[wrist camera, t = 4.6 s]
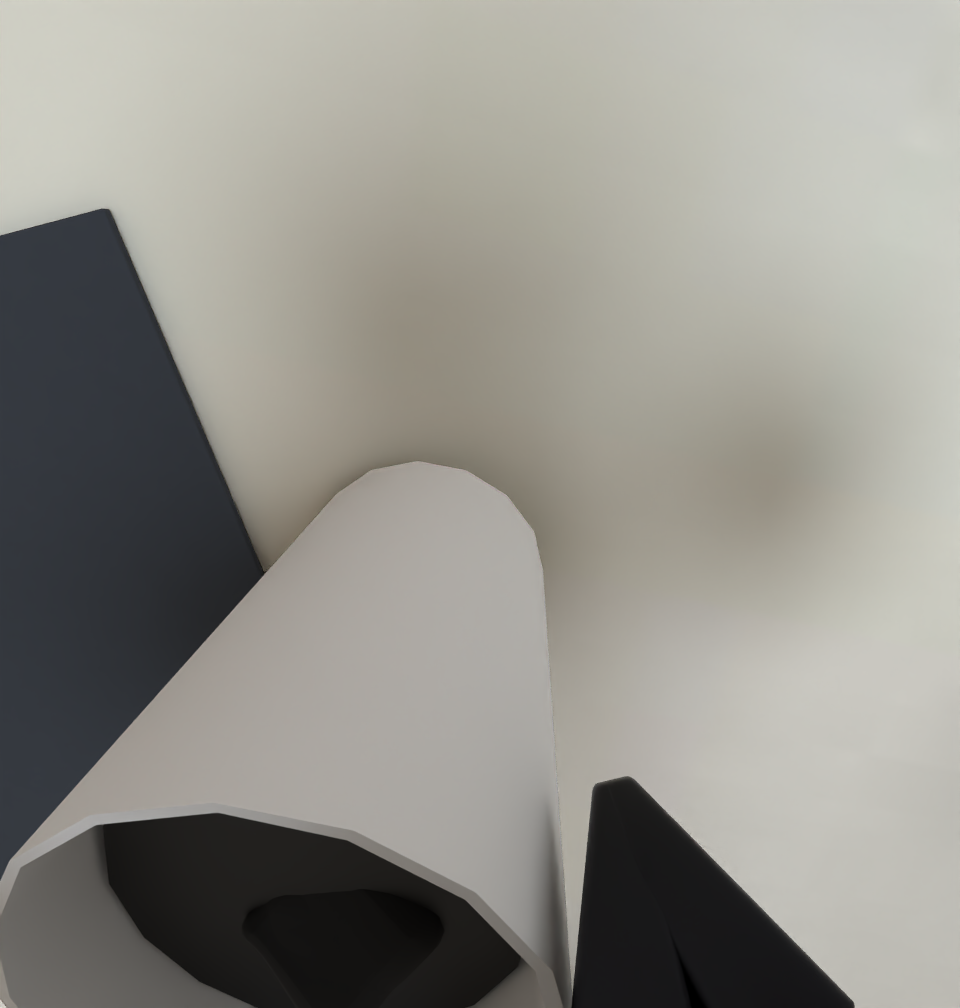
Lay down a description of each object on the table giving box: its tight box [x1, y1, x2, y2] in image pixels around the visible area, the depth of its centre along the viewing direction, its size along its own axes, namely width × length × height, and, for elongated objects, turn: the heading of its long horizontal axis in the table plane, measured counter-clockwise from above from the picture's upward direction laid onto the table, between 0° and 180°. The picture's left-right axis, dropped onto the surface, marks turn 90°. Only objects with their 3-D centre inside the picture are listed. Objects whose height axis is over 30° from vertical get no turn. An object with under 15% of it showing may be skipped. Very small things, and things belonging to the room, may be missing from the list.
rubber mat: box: [0, 209, 264, 881], centre depth 17 cm, size 19×11×1 cm, turn 14°
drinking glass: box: [0, 461, 572, 1008], centre depth 12 cm, size 7×7×10 cm
